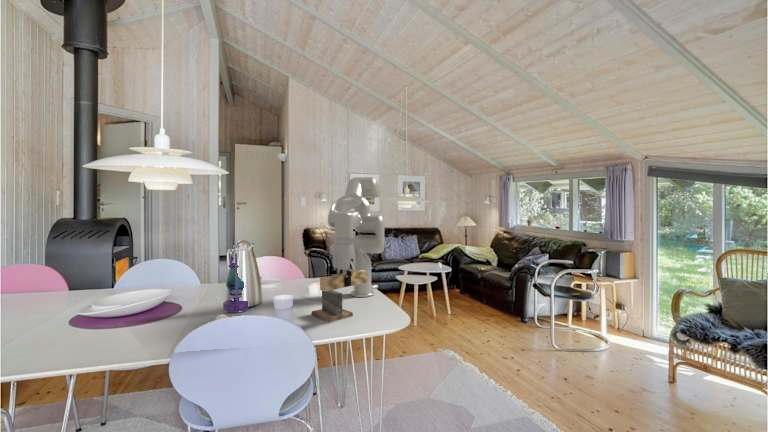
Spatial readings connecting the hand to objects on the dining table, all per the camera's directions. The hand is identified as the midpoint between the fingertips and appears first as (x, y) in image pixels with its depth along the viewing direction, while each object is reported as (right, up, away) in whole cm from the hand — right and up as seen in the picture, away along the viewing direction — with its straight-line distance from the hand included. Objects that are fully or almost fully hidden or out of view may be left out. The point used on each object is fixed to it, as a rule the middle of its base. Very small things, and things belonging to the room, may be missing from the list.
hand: (344, 284), depth 159 cm
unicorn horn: (-41, -16, -11) cm, 46 cm away
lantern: (-51, -15, +16) cm, 56 cm away
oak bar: (0, 0, 0) cm, 1 cm away
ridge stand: (-6, -15, +7) cm, 17 cm away
